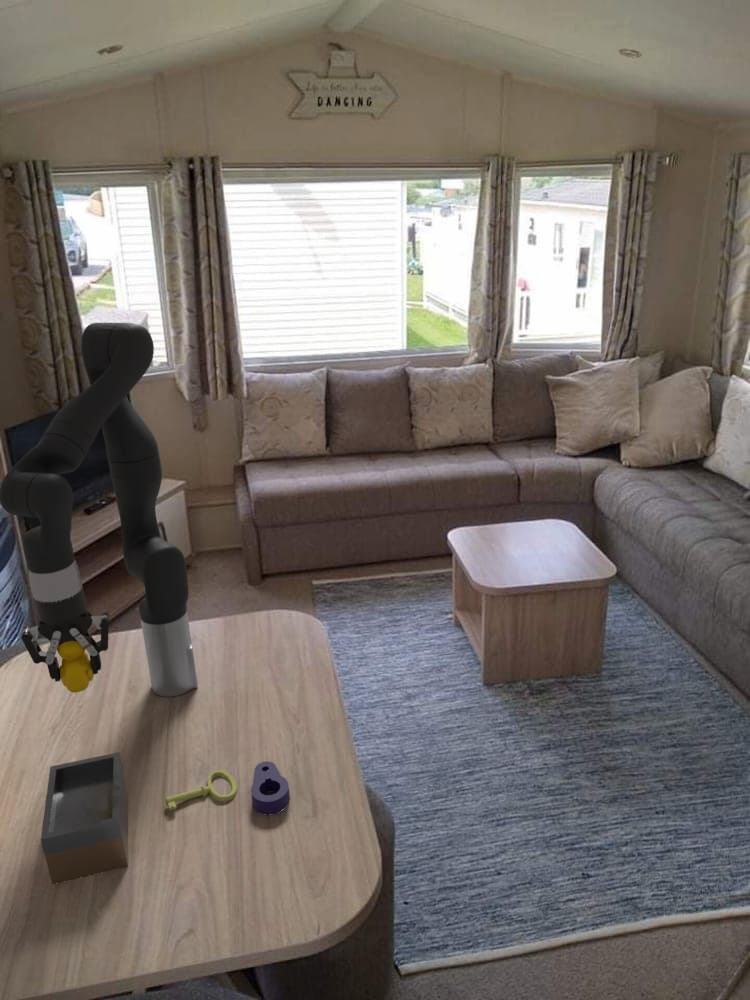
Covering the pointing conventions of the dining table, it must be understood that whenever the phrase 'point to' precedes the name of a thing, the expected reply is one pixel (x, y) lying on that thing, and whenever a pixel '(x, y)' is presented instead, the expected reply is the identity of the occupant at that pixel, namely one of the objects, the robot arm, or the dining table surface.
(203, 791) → the key
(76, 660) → the duckling
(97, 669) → the robot arm
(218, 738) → the dining table surface
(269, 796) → the lever
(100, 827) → the gray rectangular tray
